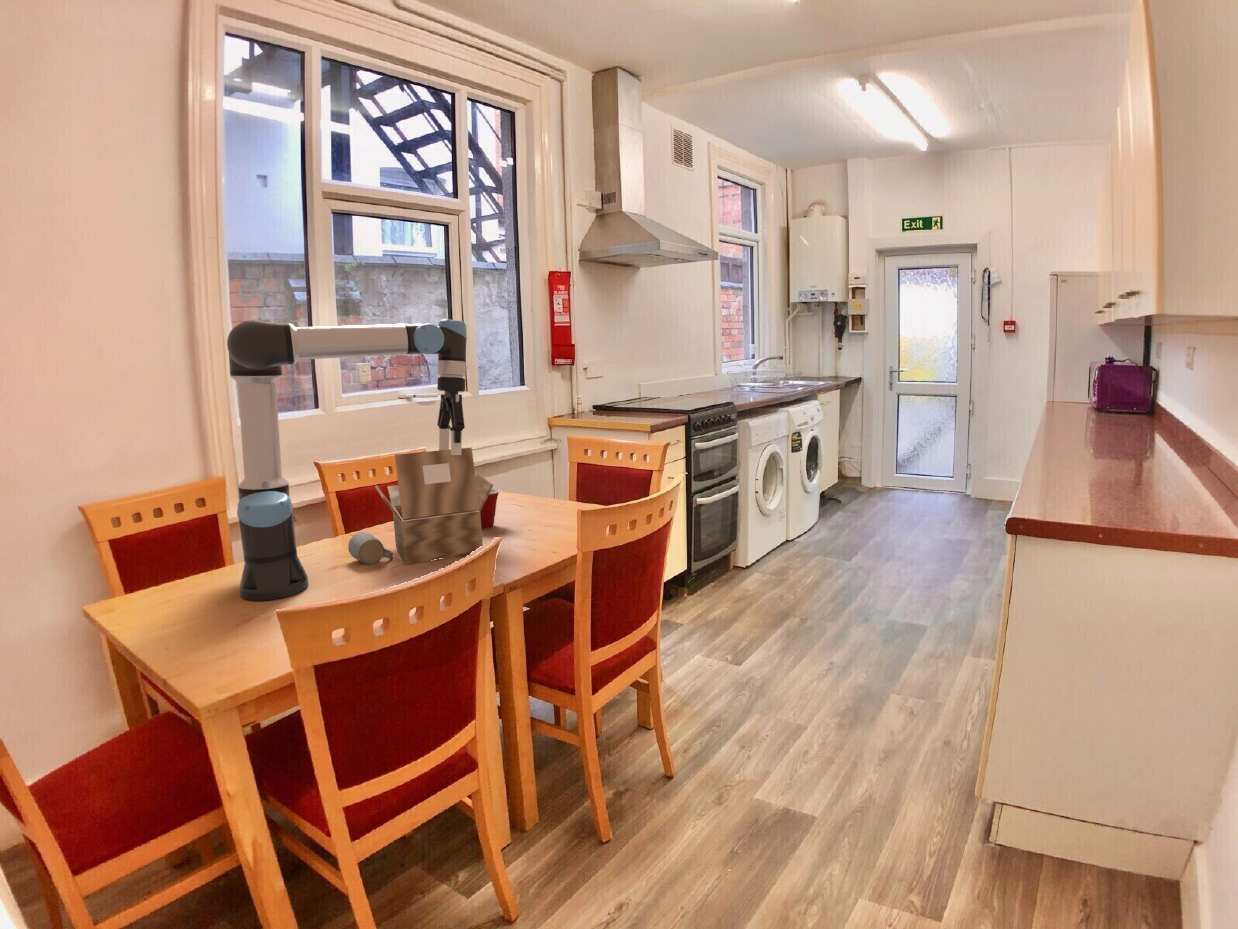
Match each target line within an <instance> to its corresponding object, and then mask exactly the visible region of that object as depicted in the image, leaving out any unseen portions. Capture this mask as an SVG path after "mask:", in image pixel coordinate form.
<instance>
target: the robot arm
mask: <svg viewBox="0 0 1238 929" xmlns="http://www.w3.org/2000/svg"><path fill="white" fill-rule="evenodd" d="M467 340H468V337H467V325H466V323H465V322H464V321H462V320H456V319H441V320H439V321H438V325H435V324H433V323H431V322H422V323H408V322H407V323H406V322H405V323H395V324H372V325H371V324H370V325H369V324H368V325H365V324H364V325H338V326H337V325H335V326H332V325H331V326H328V325H327V326H302V327H301V326H299V327H296V326H295V325H294V324H292V323H290V322H288V323H286V322H285V323H284V322H283V323H279V322H278V323H276V322H267V321H261V320H254V319H253V320H252V319H251V320H244V321H241V322H240V323H238V324H236V325H234V327H233V328H232V329H231V330H230V331H229V334H228V336H227V339H226V345H227V346H226V347H227V352H228V361H229V374H230V375H229V376H230V378H231V379H233V380H234V381H235V382H236V383H237V390H238V405H239V406H238V408H239V419H240V420H239V421H240V422H239V423H240V433H241V448H242V461H243V462H242V463H243V476H244V478H243V479H242V481H241V482H240V483H239V484H237V489H238V503H237V510H236V514H237V518H238V522H239V531H240V539H241V547H242V553H243V561H244V564H243V569H242V574H241V578H240V583H239V594H240V598H241V599H244V600H247V601H254V602H255V601H257V602H259V601H270V600H277V599H282V598H287V597H290V596H294V595H296V594H299V593H300V592H302V591H305V589H307V588H308V587H309V577H308V574H307V572H306V570H305V568H304V566H303V564H302V562H301V560H300V558H299V556H298V551H297V550H298V549H297V541H296V532H295V523H294V514H293V510H294V507H293V503H292V500H291V497H290V484H289V481H288V480H286V479H285V478H284V477H283V475H282V474H283V473H282V462H281V461H282V460H281V459H282V458H281V443H280V442H281V440H280V426H279V412H278V410H279V409H278V394H277V391H278V390H277V383H278V381H279V380H280V379H282V377H283V370H282V369H283V366H286V365H288V366H289V365H297V363H298V362H299V361H300V360H319V359H320V360H322V359H339V358H359V357H379V356H381V357H382V356H398V355H399V356H401V355H421V354H422V355H437V357H438V358H437V375H438V376H439V377H437V383H436V384H437V385H436V386H437V390H438V391H439V392H441V391H442V392H444V393H441V394H440V404H439V405H440V406H439V410H438V417H437V418H438V419H437V423H436V425H437V427H438V429H439V430H438V431H439V434H438V451H439V450H450V449H451V455H461V448H463V447H462V446H463V445H462V443H463V442H462V440H463V438H462V437H463V430H464V429H465V427H466V426H465V419H464V410H463V396H462V394H459V392H460V393H461V392H462V393H463V392H465V391H466V379H465V378H464V377H465V376H466V370H468V366H467V365H466V361H467V360H466V356H467V354H466V353H467ZM450 423H451V425H450ZM450 432H451V434H450Z"/></svg>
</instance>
